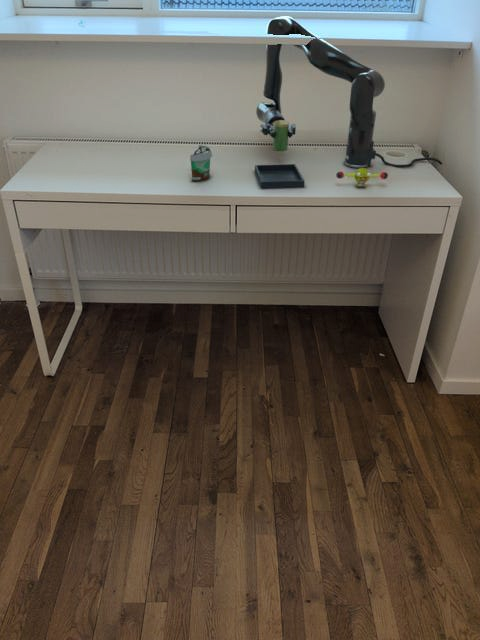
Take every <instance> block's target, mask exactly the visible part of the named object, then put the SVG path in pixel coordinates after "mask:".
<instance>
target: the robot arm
mask: <svg viewBox="0 0 480 640" xmlns="http://www.w3.org/2000/svg"><path fill="white" fill-rule="evenodd" d="M266 33H267V34H273V35H289V34H301V35H305V36H311V37H315V38H316V39H313V40H311V41H310V42H309V43H308V44H307V45H293V47H296V48H297V49H299V50H300V51H301V52H302V53H303V54H304V56H305V58H306V60H307V61H308V63H309V64H310V65H311V66H313V67H314V68H315V69H316V70H318V71H320V72H322V73H324V74H325V75H328V76H331V77H334V78H339V79H342V80H344V81H347V82H348V83H351V87H350V95H349V113H350V117H349V124H348V125H349V126H348V133H347V140H346V141H347V142H346V150H345V154H344V163H343V164H344V165H345V166H347V167H348V168H352V169H360V168H368V167H371V163H372V160H376V157H378V158H380V159H381V162H382V163H383V164H385V165H387V166H390V167H394V168H408V167H411V166H412V165H413V164H414V163H416V162H421V161H422V162H423V161H434V162H437V163H438V164H439V165H443V162H442V161H441V160H440V159H438V158H436V157H420V158H413V159H412V160H411V161H410V163H406V164H395V163H390V162H388V161H386V160H385V158H384V157H383V155H381V154H379V153H377V150H375V148H374V145H375V141H374V140H373V138H374V132H375V126H376V118H377V111H376V110H375V109H374V106H373V105H374V98H377V97H379V96H380V95H382V93H383V92H384V90H385V88H386V82H385V79H384V77H383V75H382V74H381V73H380V72H379V71H378V70H375V69H372V68H370V67H369V66H366V65H364V64H362V63H360V62H359V61H356V60H354V59H353V58H352V57H351V56H349V55H348V54H347V53H345V52H344V51H341V50H340V49H339V48H337V47H335V46H334V45H332V44H331V43H329V42H327V41H326V40H325V39H322V38H321V39H319V38H320V37H319V36H317V35H316V34H314V33H312V32H311V31H309V30H308V29H307V28H305V27H304V26H303V25H302V24H300V22H298V21H297V20H296V19H294V18H293V17H291V16H287V15H285V16H279V17H275V18H272V19H270V20H269V21H268V24H267V26H266ZM266 33H265V34H266ZM318 37H319V38H318ZM317 38H318V39H317ZM282 46H283V44H277V45H265V51H266V52H265V58H266V59H265V61H266V62H265V64H266V65H265V78H264V85H263V91H262V93H263V97H264V98H266V99H268V100H270V101H273V102H265V101H264V102H263V101H262V102H260V103H258V104H257V106H256V110H255V115H256V117H257V119H258V120H259V121H260V122H262V123H261V124H260V132H261V133H262V134H263V135H264V136H268V135H269V136H270V137H272V139H273V138H275V131H274V121H277V120H285V121H286V119H285V117H284V116H283V115H282V105H281V91H282V85H283V70H282V66H281V61H280V57H281V50H282ZM263 123H264V124H263ZM296 128H297V125H296V123H292V124H291V125H289V134H288V139H289V138H292V137H293V136H295V135H296Z"/></svg>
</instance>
